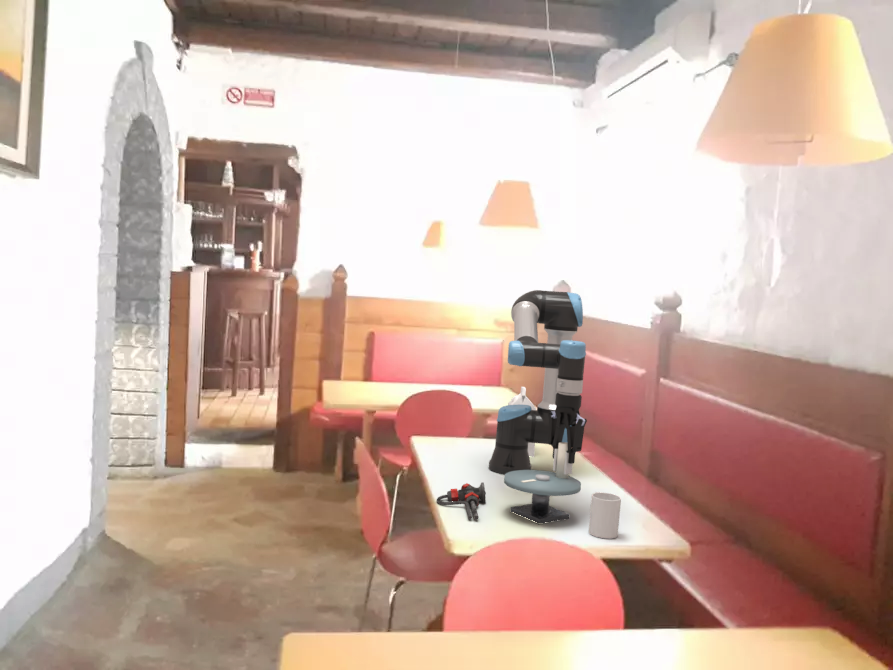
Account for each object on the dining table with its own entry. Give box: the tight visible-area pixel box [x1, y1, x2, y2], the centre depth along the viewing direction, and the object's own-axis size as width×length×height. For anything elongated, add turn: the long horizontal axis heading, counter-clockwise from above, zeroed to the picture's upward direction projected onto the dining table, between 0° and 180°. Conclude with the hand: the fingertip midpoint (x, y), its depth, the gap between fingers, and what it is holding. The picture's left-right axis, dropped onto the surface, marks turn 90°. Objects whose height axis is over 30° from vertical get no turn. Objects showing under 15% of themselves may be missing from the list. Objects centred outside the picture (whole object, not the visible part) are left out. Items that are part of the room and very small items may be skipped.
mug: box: [588, 491, 622, 540], centre depth 213 cm, size 12×8×10 cm, turn 8°
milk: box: [507, 386, 537, 458], centre depth 307 cm, size 12×12×26 cm
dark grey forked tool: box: [436, 482, 487, 521], centre depth 227 cm, size 6×26×15 cm
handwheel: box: [503, 442, 582, 497], centre depth 223 cm, size 22×22×12 cm
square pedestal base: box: [509, 494, 570, 524], centre depth 224 cm, size 12×12×9 cm
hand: (562, 471), depth 228 cm, fingers closed on handwheel, 4 cm apart
